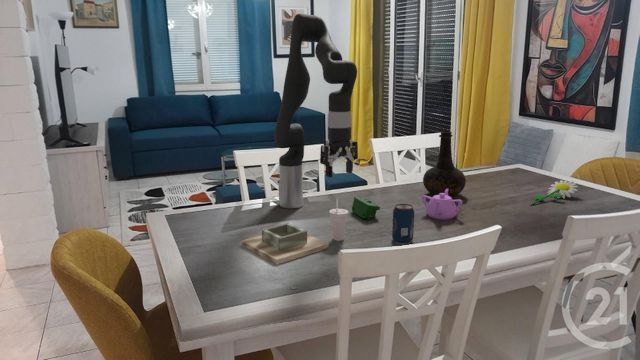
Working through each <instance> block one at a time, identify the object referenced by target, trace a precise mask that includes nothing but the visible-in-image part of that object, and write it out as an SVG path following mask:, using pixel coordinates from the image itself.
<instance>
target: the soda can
mask: <svg viewBox="0 0 640 360" xmlns="http://www.w3.org/2000/svg"><path fill="white" fill-rule="evenodd" d="M414 227H415V210H414V206H413V205H412V204H408V203H398V204H395V206H394V209H393V211H392V227H391V228H392V230H391V232H392V233H391V237H392V239H393V241H394V242H395V243H396V244H401V245H407V244H411V242H412V241H413V239H414V233H415V232H414V230H415V229H414Z"/></svg>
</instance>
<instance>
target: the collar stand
mask: <svg viewBox="0 0 640 360" xmlns="http://www.w3.org/2000/svg"><path fill="white" fill-rule="evenodd" d="M240 242H241V246H242V247H244V248H246V249H247V250H250V251H252V252H254V253H255V254H257V255H259V256H261V257H262V258H264V259H266V260H267V261H270V262H271V263H273V264H275V265H279V264H282V263H283V264H284V263H285V262H289V261H293V260H295V259H298V258H301V257H304V256H308V255H311V254H313V253H317V252H320V251H323V250H327V249H329V243H328V242H326V241H324V240H321V239H319V238H316V237H315V236H312V235H310V234H308V231H307V230H305V229H303V228H301V227H298V226H296V225H295V224H292V223H289V222H286V223H282V224H278V225H275V226H271V227H267V228H263V229H261V235H257V236H254V237H251V238H247V239H243V240H241V241H240Z"/></svg>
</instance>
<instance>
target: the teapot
mask: <svg viewBox="0 0 640 360" xmlns="http://www.w3.org/2000/svg"><path fill="white" fill-rule="evenodd" d="M427 199H428V200H429V201H428V203H427ZM421 201H422V203H423V205H424V207H425V212H426V215H427V216H429V217H430V218H431V219H435V220H445V221H447V220H451V219H453V218H455V217H456V216H457V212H458V211H459V209H460V208H461V207H462V205H463V200H462V199H453V198H452V197H450V196H448V189H446V190H445V193H439V195H435V196H434V195H432V196H428V195H422V198H421ZM456 203H458V204H457V206H456Z"/></svg>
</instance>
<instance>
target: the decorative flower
mask: <svg viewBox="0 0 640 360" xmlns="http://www.w3.org/2000/svg"><path fill="white" fill-rule="evenodd" d="M577 184H578V182H574V180H570V181H568V180H567V179H565V180H564V181H563V180H562V179H561V180H560V181H559V182H558V181H555V182H554V184H550V186H551V187H548V188H547V189H548V190H547V192H546V194H547V193H548V194H547V195H545V196H544V195H542V194H541V195H540V194H535V195H534V198H535V199H537V200H535V201H534V202H532V203H529V205H532V206H533V204H534V205H536V204H538V203H540V202H542V201H543V200H545V199H546V198H547V199H548V198H552V197H555V198H556V199H557V198H560V199H561V198H563V200H564V199H565V198H566V197H567V198H571V194H575V192H578V189H576V188H579V186H578V185H577Z"/></svg>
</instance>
